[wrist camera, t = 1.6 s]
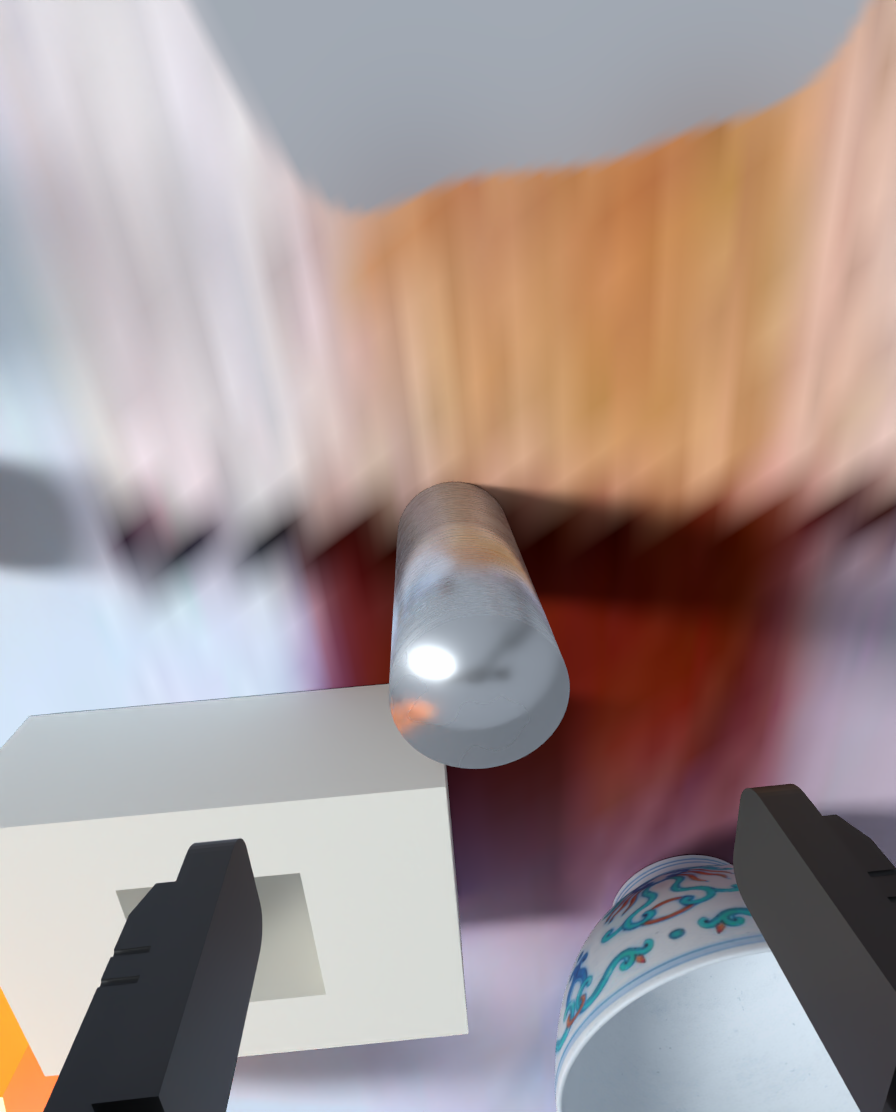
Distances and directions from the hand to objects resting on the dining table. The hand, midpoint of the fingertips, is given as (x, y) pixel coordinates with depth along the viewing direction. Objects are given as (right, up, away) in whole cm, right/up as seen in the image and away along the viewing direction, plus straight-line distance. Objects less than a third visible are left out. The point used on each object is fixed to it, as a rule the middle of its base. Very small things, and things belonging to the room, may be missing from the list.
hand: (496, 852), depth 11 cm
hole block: (-9, -6, +18) cm, 21 cm away
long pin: (-1, +5, +13) cm, 14 cm away
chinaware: (+10, -12, +21) cm, 26 cm away
